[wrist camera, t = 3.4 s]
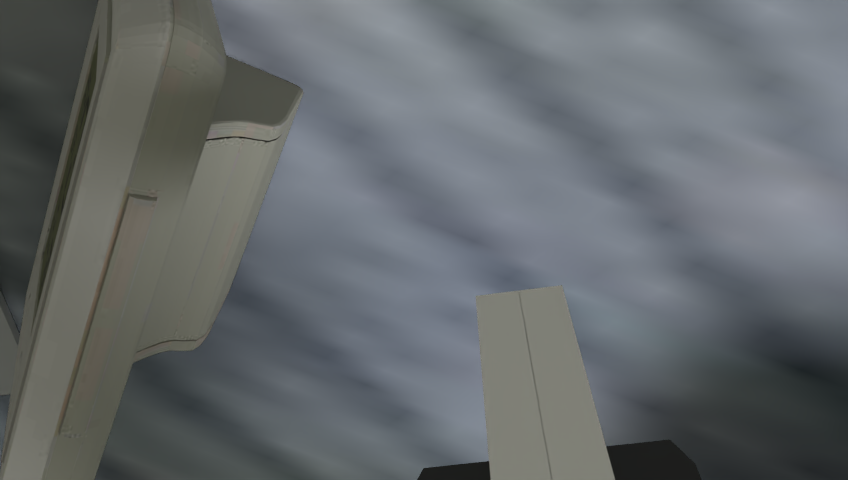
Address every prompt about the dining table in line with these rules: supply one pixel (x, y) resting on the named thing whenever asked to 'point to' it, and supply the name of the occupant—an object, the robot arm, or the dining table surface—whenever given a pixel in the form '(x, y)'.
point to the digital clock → (138, 222)
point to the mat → (7, 347)
